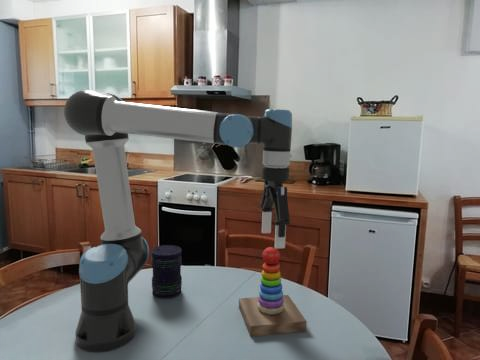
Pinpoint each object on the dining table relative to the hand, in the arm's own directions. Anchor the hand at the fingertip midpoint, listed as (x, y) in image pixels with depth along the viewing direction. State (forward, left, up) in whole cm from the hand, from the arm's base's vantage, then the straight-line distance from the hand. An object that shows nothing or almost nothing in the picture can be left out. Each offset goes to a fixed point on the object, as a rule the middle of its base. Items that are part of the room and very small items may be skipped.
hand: (272, 240), depth 105 cm
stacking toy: (0, 0, -21) cm, 21 cm away
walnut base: (0, 0, -24) cm, 24 cm away
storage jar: (-30, +22, -24) cm, 44 cm away
